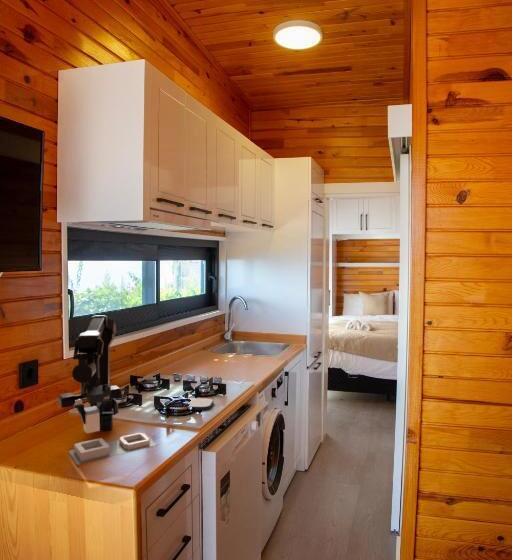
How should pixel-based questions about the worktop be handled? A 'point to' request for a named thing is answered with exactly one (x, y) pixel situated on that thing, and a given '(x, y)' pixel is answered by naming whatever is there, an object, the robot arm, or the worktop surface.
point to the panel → (112, 450)
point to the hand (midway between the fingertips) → (91, 422)
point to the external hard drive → (200, 403)
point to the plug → (91, 419)
